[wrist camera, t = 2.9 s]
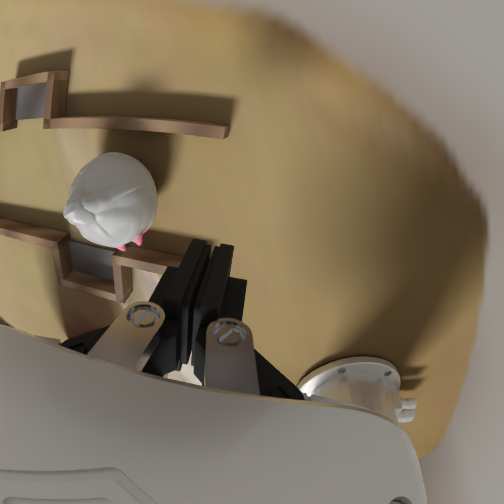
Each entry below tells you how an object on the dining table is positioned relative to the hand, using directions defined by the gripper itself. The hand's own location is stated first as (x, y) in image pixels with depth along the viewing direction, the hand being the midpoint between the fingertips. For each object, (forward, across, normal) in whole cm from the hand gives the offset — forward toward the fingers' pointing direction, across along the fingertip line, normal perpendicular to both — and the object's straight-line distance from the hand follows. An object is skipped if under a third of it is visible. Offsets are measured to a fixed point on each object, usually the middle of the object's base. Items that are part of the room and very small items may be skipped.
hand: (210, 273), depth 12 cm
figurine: (+11, +8, +1) cm, 14 cm away
